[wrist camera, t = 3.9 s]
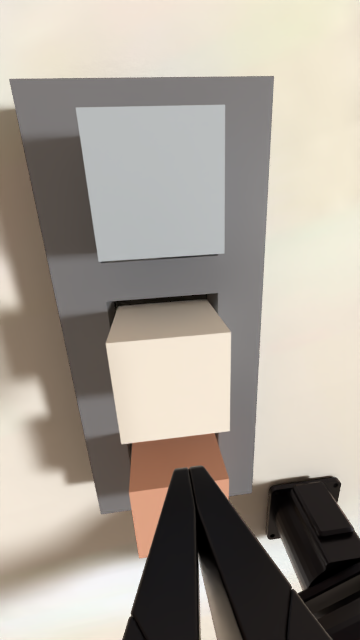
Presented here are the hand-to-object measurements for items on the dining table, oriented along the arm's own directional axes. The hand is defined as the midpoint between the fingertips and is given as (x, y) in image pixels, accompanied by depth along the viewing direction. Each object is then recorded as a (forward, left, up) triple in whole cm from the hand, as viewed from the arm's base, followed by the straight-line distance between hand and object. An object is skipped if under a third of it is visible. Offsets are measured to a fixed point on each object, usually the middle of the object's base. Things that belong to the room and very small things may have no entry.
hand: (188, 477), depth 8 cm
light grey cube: (+8, 0, -10) cm, 13 cm away
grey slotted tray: (0, 0, -12) cm, 12 cm away
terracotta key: (-8, 0, -9) cm, 12 cm away
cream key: (0, 0, -9) cm, 9 cm away
